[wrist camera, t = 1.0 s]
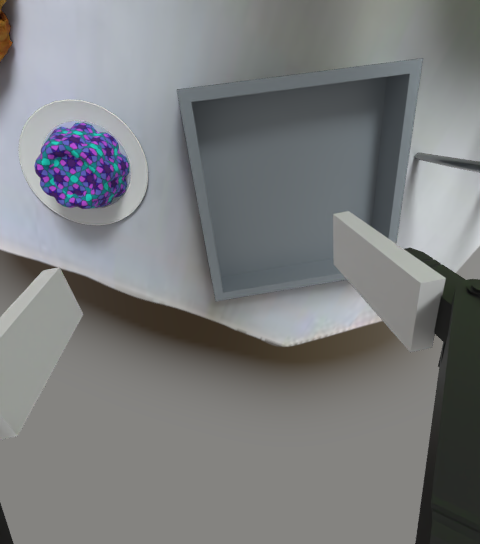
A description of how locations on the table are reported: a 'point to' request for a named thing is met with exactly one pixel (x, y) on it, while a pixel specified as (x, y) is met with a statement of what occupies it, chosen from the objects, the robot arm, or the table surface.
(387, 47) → the table surface
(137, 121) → the table surface
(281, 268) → the bin
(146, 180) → the pudding
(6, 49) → the croissant
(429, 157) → the juicer
